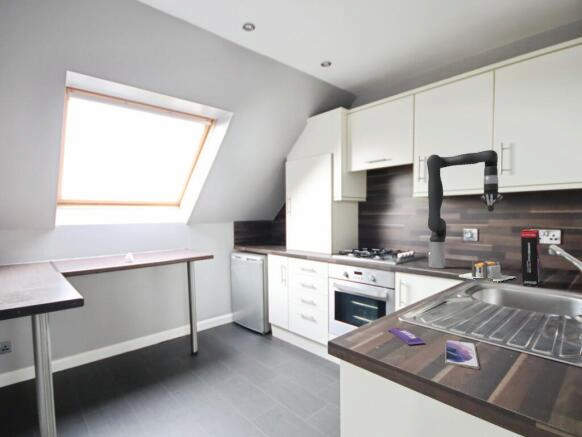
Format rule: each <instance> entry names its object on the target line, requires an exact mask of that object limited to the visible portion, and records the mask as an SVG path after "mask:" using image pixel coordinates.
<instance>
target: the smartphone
mask: <svg viewBox="0 0 582 437" xmlns="http://www.w3.org/2000/svg"><path fill="white" fill-rule="evenodd" d="M478 358H479V357H478V352H477V347H476V344H475V343H472V342H465V341H460V340H459V341H458V340H452V339H451V340H450V339H446V341H445V358H444V360H445V361H444V363H445V364H447V365H451V366H455V367H463V368H466V369H472V370H476V371H477V370H480V364H479V363H480V362H479V359H478Z"/></svg>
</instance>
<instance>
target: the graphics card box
mask: <svg viewBox="0 0 582 437" xmlns="http://www.w3.org/2000/svg"><path fill="white" fill-rule="evenodd" d="M540 241H541V240H540V230H539V229H529V228H527V229H525V228H524V229H523V230H520V248H521V249H520V250H521V274H522V275H521V285H522V284H523V285H531V286H530V287H532V286H538V287H539V286H540V284H541V280H542V279H541V278H542V276H541V274H542V273H541V243H540ZM523 285H522V286H523Z"/></svg>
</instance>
